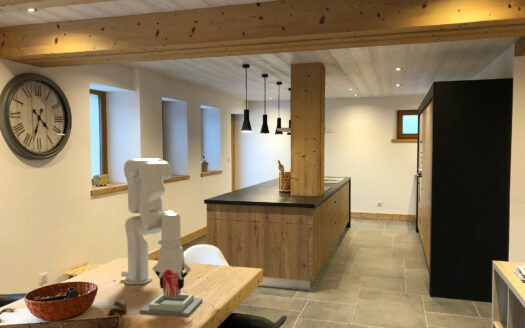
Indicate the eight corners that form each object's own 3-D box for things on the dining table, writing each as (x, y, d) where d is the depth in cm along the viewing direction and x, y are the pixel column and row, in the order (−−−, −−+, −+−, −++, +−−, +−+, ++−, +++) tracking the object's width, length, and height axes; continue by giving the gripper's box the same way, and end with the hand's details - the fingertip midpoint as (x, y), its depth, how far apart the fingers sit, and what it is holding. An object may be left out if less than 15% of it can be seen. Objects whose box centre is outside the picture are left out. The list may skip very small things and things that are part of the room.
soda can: (164, 293, 169) (164, 264, 169) (182, 292, 170) (181, 263, 169) (161, 299, 162) (161, 268, 162) (180, 298, 163) (179, 268, 162)
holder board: (139, 313, 160) (139, 304, 160) (157, 298, 176) (157, 291, 176) (188, 316, 156) (188, 308, 156) (202, 301, 172) (202, 293, 172)
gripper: (146, 245, 163) (147, 289, 164) (188, 246, 160) (188, 292, 160) (155, 241, 171) (155, 283, 171) (195, 242, 167) (195, 286, 168)
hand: (171, 287), depth 166 cm, fingers closed on soda can, 7 cm apart
